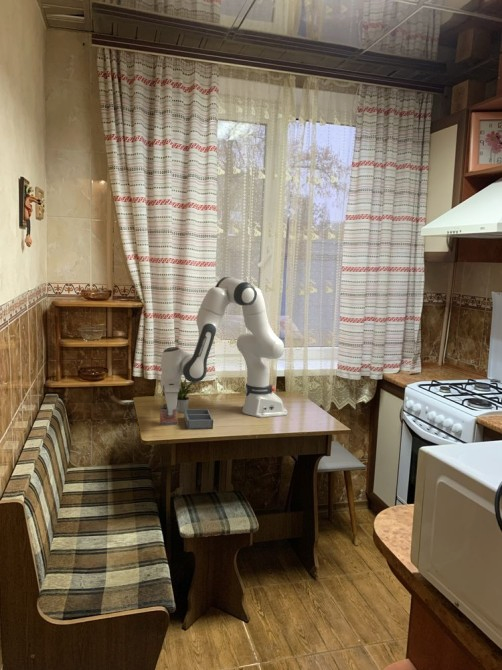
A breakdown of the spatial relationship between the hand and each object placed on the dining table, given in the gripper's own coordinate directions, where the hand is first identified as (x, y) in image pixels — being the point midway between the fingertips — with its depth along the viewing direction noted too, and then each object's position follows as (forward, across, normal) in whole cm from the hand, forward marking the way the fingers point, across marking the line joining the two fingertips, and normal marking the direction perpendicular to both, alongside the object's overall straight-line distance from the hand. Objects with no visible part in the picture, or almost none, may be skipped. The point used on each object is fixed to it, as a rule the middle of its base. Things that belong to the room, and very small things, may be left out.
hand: (169, 413), depth 236 cm
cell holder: (+5, 0, +13) cm, 14 cm away
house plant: (+5, -18, +8) cm, 20 cm away
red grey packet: (+5, 0, 0) cm, 5 cm away
